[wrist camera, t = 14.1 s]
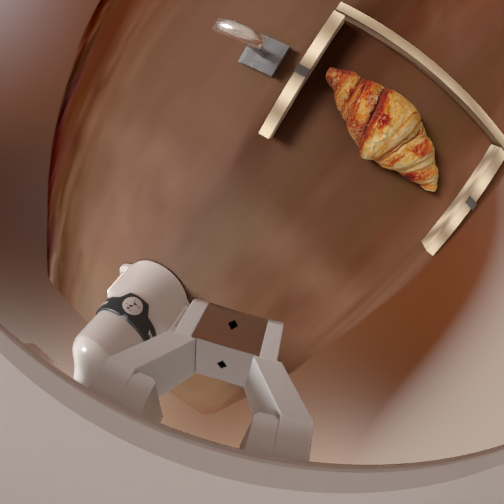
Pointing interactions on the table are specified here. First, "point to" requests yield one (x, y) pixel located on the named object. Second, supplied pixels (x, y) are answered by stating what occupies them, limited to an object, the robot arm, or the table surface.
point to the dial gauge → (255, 46)
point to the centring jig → (411, 53)
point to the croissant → (385, 127)
